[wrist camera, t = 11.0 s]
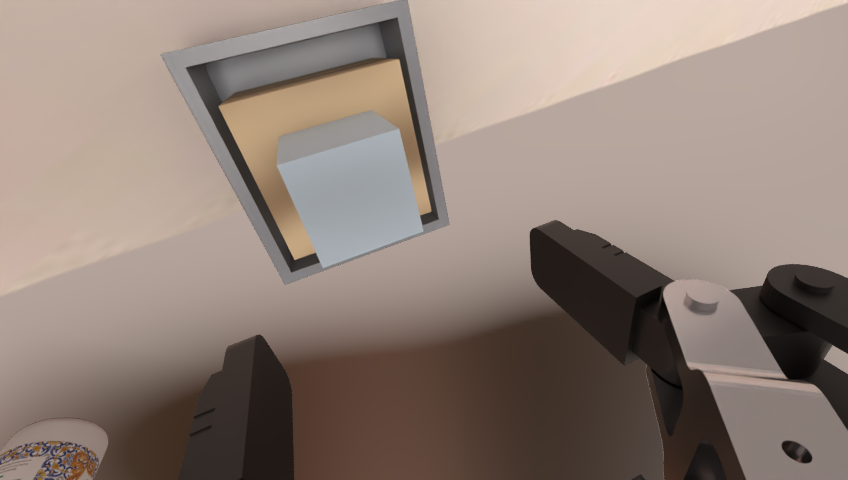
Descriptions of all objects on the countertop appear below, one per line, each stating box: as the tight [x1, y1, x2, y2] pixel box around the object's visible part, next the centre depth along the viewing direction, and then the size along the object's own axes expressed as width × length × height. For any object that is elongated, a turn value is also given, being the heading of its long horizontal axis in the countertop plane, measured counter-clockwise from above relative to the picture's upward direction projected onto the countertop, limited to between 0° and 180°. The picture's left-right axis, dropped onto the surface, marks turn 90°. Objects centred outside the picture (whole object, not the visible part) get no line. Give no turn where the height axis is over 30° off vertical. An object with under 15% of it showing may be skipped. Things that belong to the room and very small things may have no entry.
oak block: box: [218, 57, 432, 260], centre depth 24 cm, size 10×10×7 cm
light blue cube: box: [277, 110, 424, 268], centre depth 19 cm, size 6×6×6 cm
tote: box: [160, 0, 449, 285], centre depth 26 cm, size 16×14×6 cm
